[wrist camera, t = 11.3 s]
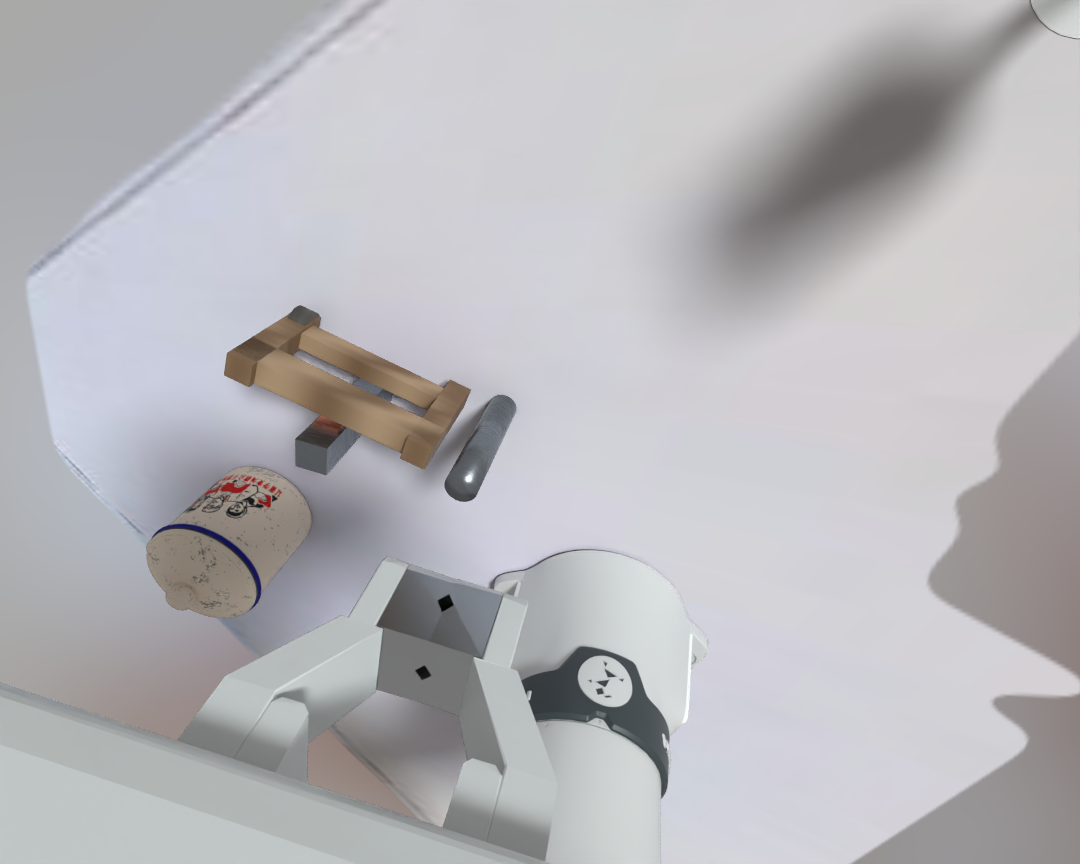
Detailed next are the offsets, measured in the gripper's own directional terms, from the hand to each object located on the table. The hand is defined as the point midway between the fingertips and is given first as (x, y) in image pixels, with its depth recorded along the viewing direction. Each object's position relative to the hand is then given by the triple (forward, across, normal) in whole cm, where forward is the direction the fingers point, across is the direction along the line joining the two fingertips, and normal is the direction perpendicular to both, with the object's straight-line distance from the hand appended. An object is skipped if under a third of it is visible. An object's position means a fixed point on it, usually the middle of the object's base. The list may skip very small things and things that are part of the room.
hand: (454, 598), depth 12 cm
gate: (+29, +13, +11) cm, 33 cm away
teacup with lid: (+29, +24, +30) cm, 48 cm away
